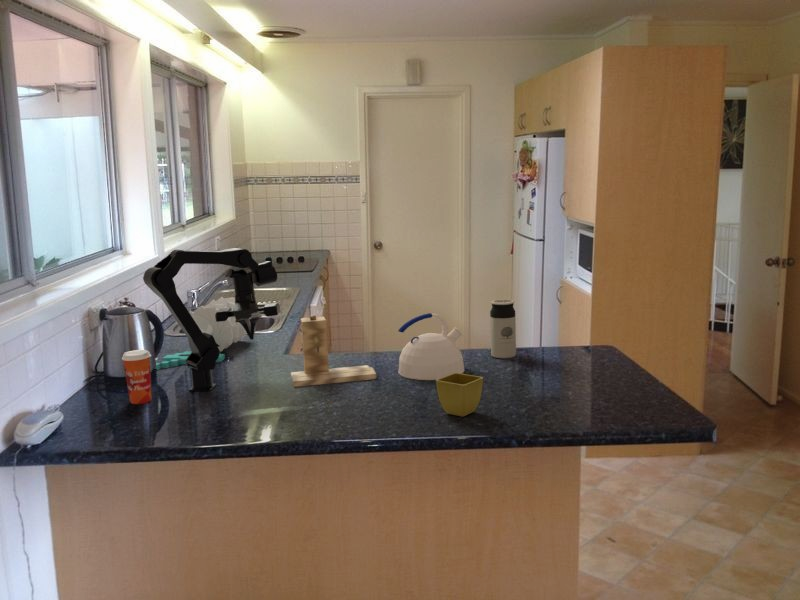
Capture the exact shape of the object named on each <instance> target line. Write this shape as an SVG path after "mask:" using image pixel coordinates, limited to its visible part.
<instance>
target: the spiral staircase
mask: <svg viewBox="0 0 800 600" xmlns="http://www.w3.org/2000/svg"><path fill="white" fill-rule="evenodd" d="M234 305H235V296H234V297H226V298H225V297H223V296H221V297H219V298H218V299H217V300H215V299H212V300H211V301H210V302H209V303H207V304H206V305H205V306H204V305H200V306H198V308H196V309H195V310H194V311H191V310H190V311H189V313H190V315H191V316H192V318H193V319H194V321H195V322H196V324H197V325H198V327H199V328H200V330H201V331H202V333H207V334H210V335H212V336H213V337H214V339H215V342H216V343H217V344H218V345H220V346H219V347H218V348H219V351H220V353H222V352H223V351H224V350H227V349H228V348H229V347H230V346H231V345H232V344H233V343H238V341H239V340H242V339H244V337H245V336H246V334H247V332H246V330H245V329H244V327H243V326H242V325H241V324H240V323H239V322H235V320H236V319H235V317H228V319H227V320H226V321H220V322H216V318H215V314H216V312H217V311H218V310H219V309H223V308H231V309H232V311H233V308H234ZM249 319H250V318H249ZM249 322H250V321H249Z"/></svg>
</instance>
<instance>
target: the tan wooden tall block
mask: <svg viewBox="0 0 800 600" xmlns="http://www.w3.org/2000/svg"><path fill="white" fill-rule="evenodd" d="M300 328H301V331H300V332H301V343H302V344H301V345H302V356H303V357H302V358H303V371H304V374H306V373H316V372H327V371H329V369H330V368H329V367H330V366H329V365H330V364H329V352H328V350H329V349H328V336H327V335H328V333H327V320H326V318H325V316H316V314H315V315H312V314H311V315H310V316H309V317H302V318H300Z"/></svg>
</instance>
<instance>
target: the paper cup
mask: <svg viewBox="0 0 800 600" xmlns="http://www.w3.org/2000/svg"><path fill="white" fill-rule="evenodd" d="M150 357H152V354H151V352H150V351H148V350H147V349H134V350H130V351H125V352H124V353H123V355H122V357H121V360H122V362H123V370H124V374H125V380H126V386H127V391H128V396H129V397H128V398H129V402H130V403H131V404H132V405H142V404H147V403H149V402H151V401H152V380H151V379H152V376H151V358H150Z"/></svg>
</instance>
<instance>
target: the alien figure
mask: <svg viewBox="0 0 800 600" xmlns="http://www.w3.org/2000/svg"><path fill="white" fill-rule="evenodd" d="M191 353H192V351H191V350H189V351H188V350H187V351H186V350H185V351H184V352H176V353H174V354H166V355H165V356H163V357H162V362H155V363H156V369H157V370H156V371H159V370H161V369H169V368H170V367H178V366H180V365H183V366H184V365H187V364H186V362H185V360H186V359H187V358H188V356H189V355H190V354H191ZM225 358H226V356H225V353H220V354H219V357H218V359H217V360H216V363H222V362H223V361H224V360H225Z"/></svg>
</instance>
